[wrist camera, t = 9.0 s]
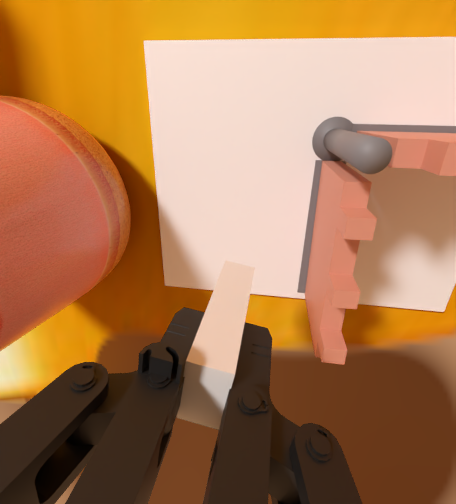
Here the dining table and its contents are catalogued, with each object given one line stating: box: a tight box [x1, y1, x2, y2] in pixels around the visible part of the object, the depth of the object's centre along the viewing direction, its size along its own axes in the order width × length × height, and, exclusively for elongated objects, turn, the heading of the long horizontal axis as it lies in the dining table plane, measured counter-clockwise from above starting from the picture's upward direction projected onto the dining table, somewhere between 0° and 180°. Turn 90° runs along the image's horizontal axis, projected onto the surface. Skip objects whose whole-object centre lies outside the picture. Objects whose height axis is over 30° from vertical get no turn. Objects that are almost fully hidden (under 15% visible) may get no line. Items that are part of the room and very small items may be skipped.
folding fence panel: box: [305, 161, 377, 365], centre depth 18 cm, size 11×1×9 cm, turn 0°
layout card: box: [144, 37, 456, 312], centre depth 21 cm, size 23×18×1 cm
